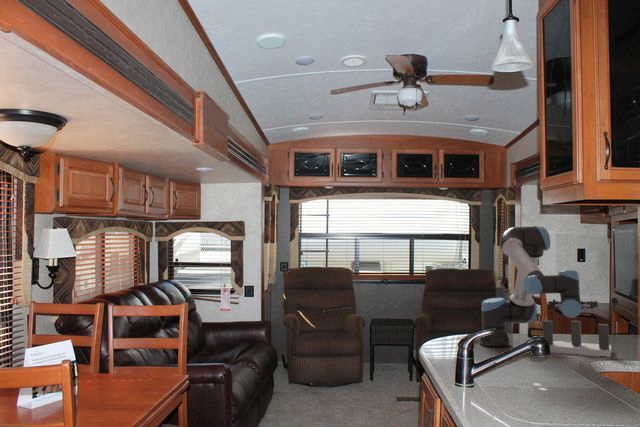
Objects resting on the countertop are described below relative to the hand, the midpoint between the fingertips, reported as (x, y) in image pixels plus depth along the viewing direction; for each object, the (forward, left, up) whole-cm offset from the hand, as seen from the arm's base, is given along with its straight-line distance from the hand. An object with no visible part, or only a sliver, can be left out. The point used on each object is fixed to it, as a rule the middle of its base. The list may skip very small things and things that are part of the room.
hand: (573, 303), depth 254 cm
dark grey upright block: (+3, +6, -21) cm, 22 cm away
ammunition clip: (-3, +40, -24) cm, 47 cm away
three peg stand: (+3, +6, -24) cm, 25 cm away
